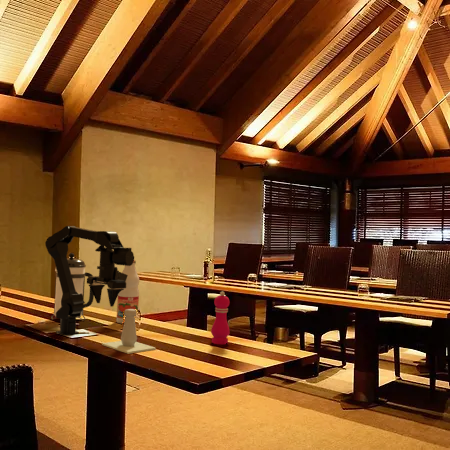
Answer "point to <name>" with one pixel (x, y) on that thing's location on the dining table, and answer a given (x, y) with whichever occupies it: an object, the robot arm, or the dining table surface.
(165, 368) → the dining table surface
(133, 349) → the sage mat
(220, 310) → the pepper mill
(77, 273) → the coffee press
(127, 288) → the fruit juice
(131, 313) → the salt shaker
